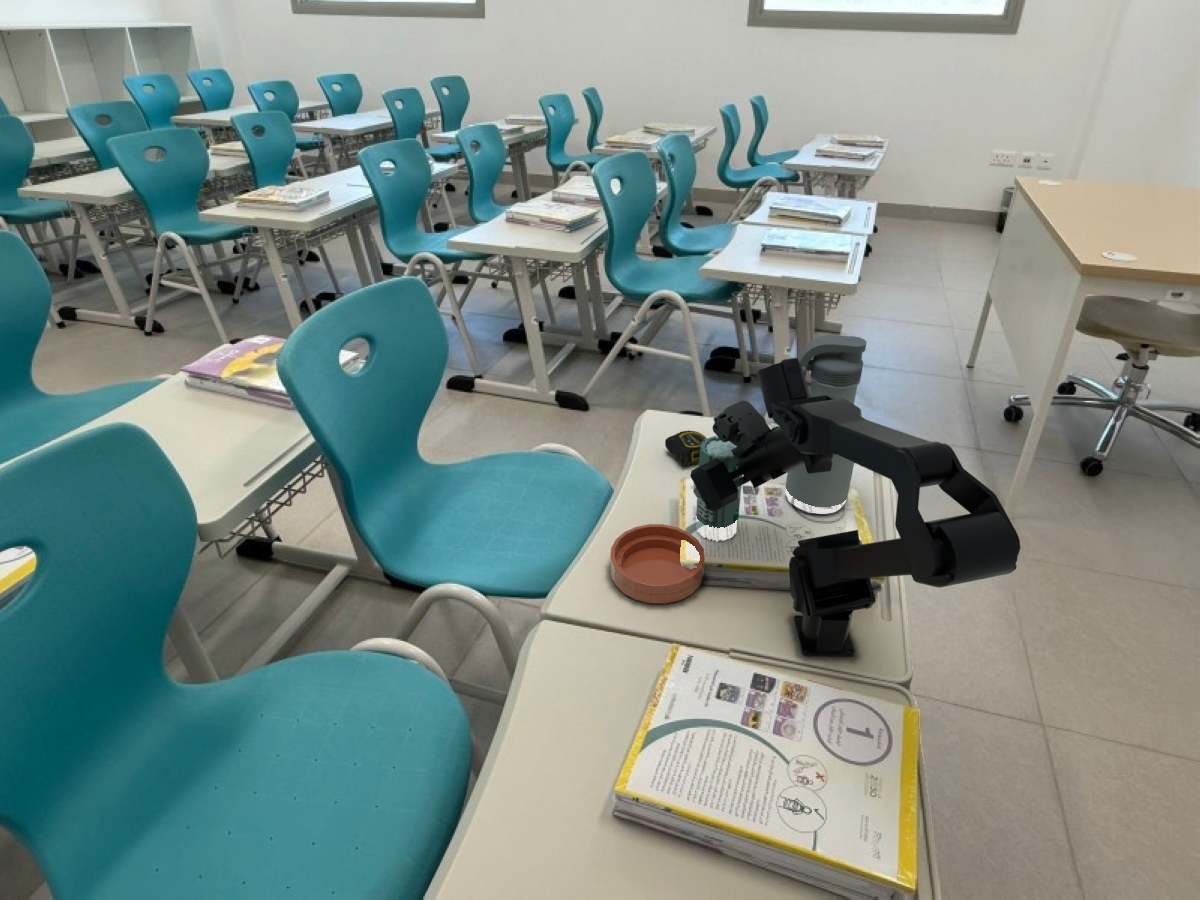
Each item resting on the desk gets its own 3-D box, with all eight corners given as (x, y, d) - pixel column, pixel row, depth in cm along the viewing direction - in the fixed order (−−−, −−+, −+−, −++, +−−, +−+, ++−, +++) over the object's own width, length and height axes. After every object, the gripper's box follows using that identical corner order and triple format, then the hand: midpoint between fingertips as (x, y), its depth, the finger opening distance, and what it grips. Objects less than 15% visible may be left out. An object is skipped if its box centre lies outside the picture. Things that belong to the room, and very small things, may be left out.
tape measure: (663, 451, 131) (663, 433, 129) (696, 443, 133) (697, 425, 131) (680, 470, 125) (680, 452, 123) (715, 462, 127) (716, 444, 125)
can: (744, 533, 110) (752, 450, 102) (712, 546, 108) (718, 463, 100) (720, 512, 115) (726, 432, 107) (688, 524, 113) (692, 443, 105)
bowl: (706, 605, 98) (708, 586, 96) (609, 604, 98) (609, 585, 96) (699, 543, 109) (700, 524, 107) (612, 542, 109) (611, 523, 108)
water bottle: (779, 512, 115) (801, 351, 100) (783, 478, 123) (804, 324, 108) (846, 521, 112) (879, 357, 97) (846, 486, 120) (876, 329, 105)
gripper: (801, 374, 99) (735, 414, 112) (704, 417, 90) (645, 455, 103) (840, 445, 98) (769, 477, 111) (746, 497, 88) (681, 525, 102)
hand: (717, 482), depth 107 cm, fingers open, 9 cm apart
